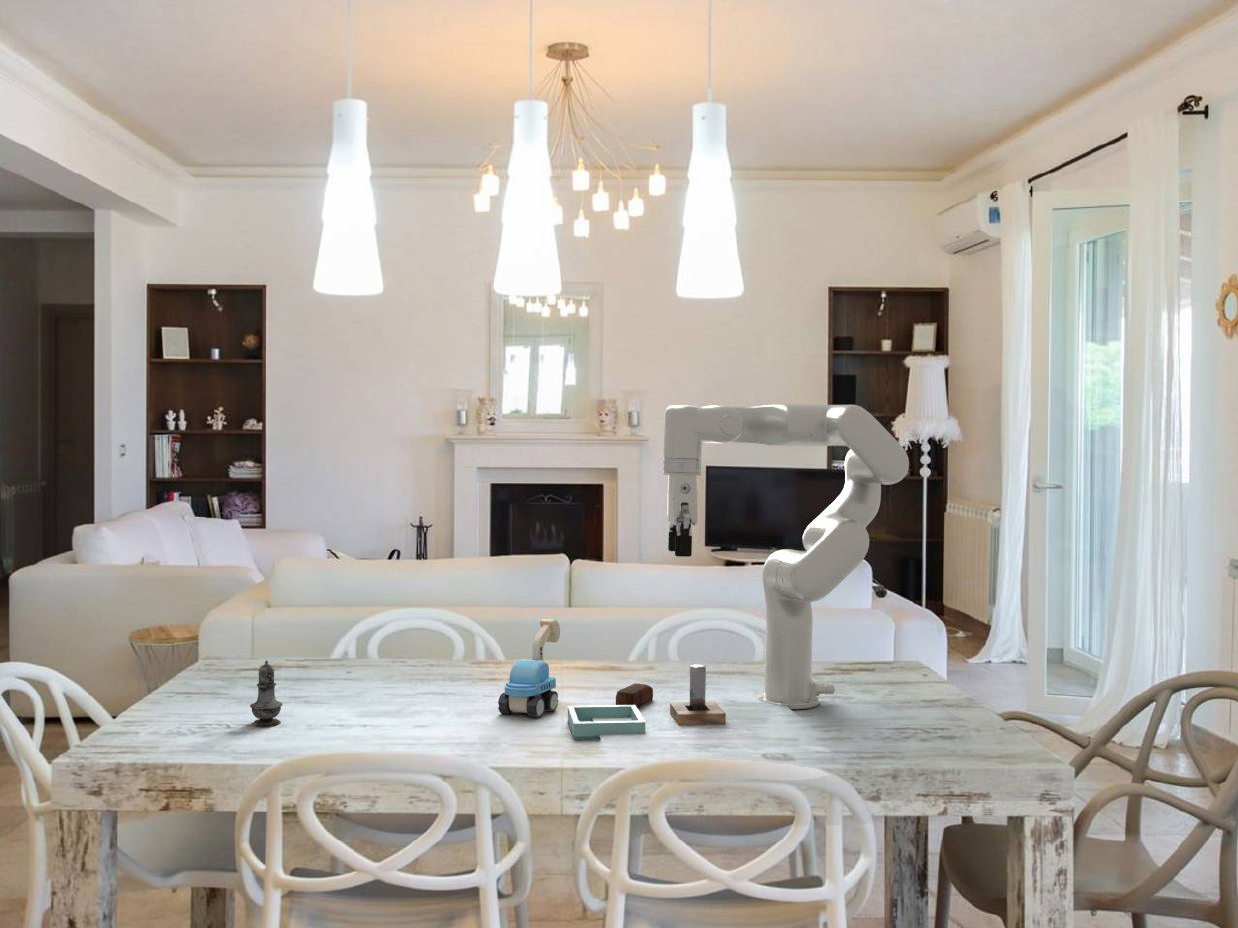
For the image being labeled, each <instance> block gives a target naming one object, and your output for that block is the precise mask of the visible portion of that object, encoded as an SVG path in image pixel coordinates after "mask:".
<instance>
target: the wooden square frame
mask: <svg viewBox="0 0 1238 928" xmlns="http://www.w3.org/2000/svg"><path fill="white" fill-rule="evenodd" d="M669 714H670V716H671V717H672V719H673V720H674V721H675V723H676V724H677V726H696V725H698V726H701V725H703V726H704V725H705V726H709V725H711V726H712V725H726V722H727V721H726V720H727V717H726V716H727V715H726V712H725V711H724V709H723V708H721V707H720V705H719V704H718V703H717V702H716V701H705V711H690V702H670V703H669Z"/></svg>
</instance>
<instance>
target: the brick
mask: <svg viewBox="0 0 1238 928" xmlns="http://www.w3.org/2000/svg"><path fill="white" fill-rule="evenodd" d="M653 698H654V688H653V687H651V685H648V684H646V683H637V682H636V683H632V684H629V686H626V687H624V688H621V689H619V690H617V692H616V695H615V705H636V707H637V709H638V710H639V709H640V708H641V707H643V706H645V705H647V704H648V703H650V702H652V701H653Z"/></svg>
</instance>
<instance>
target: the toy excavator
mask: <svg viewBox="0 0 1238 928" xmlns="http://www.w3.org/2000/svg"><path fill="white" fill-rule="evenodd" d="M539 623H540V624H539V625H540V629H539V630H538V632H537V633H536V635H535V636H534V639H533V643H532V659H525V658H524V659H523V658H522V659H521V658H520V659H517V660H516V661H515V662H514V663H513V665H511V668H510V673H509V679H508V680H509V681H508V682H506V683H505V685H504V692H502V693H501V694H500V695H499V697H498V701H497V704H498V707H497V708H498V711H499V713H500V714H503V715H504V714H505V715H511V714H512V713H513V712H514V713H521V714H522V713H525V714H527V715H528V717H530V718H539V717H540V716H542V715H543V713H544V712H545V711H546V712H547V711H548V712H555V711H556V710H557V708H558V704H559V693H558V692H557V691H556V690H553V689H555V688H556V687H557V678H556V677H553V676H550V666H549V664H548V663H547V662H546V661H544V647H545V644H546V643H558V642H559V639H560V635H561V628H560V624H559V622H558V621H557V620H556V619H551V618H550V619H548V618H547V619H545V618H542V619H540V620H539Z"/></svg>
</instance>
